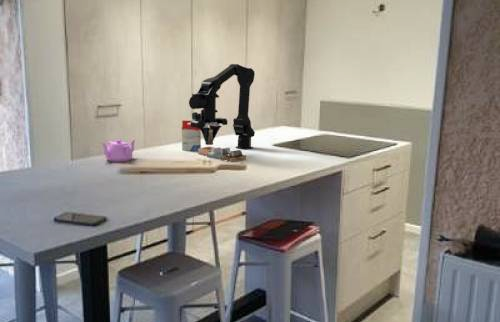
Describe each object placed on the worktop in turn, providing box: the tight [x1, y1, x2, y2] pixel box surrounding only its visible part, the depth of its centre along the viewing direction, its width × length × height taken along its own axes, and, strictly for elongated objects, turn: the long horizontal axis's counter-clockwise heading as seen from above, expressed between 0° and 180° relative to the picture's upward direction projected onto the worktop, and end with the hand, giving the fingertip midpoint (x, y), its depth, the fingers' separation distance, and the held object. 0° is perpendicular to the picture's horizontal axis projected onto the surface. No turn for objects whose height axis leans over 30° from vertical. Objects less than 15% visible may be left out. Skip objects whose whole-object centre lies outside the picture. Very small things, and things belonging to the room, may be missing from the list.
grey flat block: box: [206, 146, 226, 160], centre depth 243 cm, size 10×9×4 cm
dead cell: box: [204, 127, 214, 146], centre depth 248 cm, size 4×4×8 cm
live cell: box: [226, 149, 243, 158], centre depth 238 cm, size 7×4×4 cm, turn 138°
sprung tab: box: [221, 147, 231, 156], centre depth 242 cm, size 5×1×3 cm, turn 138°
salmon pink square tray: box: [197, 146, 215, 157], centre depth 249 cm, size 7×7×3 cm
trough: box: [221, 154, 247, 162], centre depth 238 cm, size 10×6×2 cm, turn 138°
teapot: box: [100, 138, 137, 163], centre depth 232 cm, size 12×14×9 cm
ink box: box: [181, 120, 202, 152], centre depth 257 cm, size 8×5×15 cm, turn 84°
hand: (209, 141), depth 248 cm, fingers closed on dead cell, 4 cm apart
